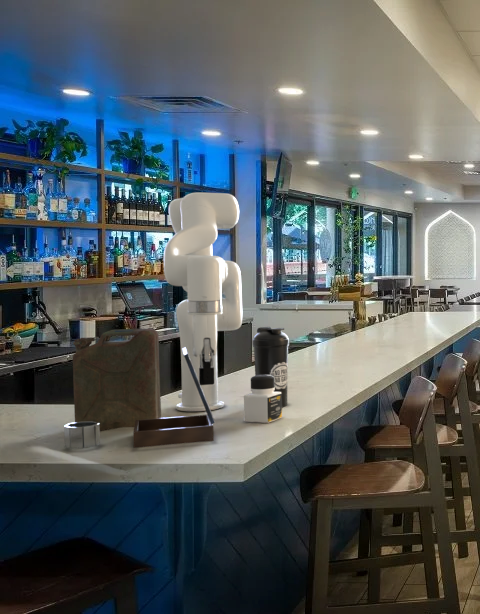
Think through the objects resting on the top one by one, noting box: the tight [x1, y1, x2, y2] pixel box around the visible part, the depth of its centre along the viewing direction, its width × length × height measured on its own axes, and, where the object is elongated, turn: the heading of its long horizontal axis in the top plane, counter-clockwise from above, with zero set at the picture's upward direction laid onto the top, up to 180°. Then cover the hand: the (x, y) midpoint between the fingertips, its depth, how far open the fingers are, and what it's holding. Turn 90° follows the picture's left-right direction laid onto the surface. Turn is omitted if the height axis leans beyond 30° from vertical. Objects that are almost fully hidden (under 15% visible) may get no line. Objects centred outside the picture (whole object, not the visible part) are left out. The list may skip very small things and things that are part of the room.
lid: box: [183, 347, 215, 425], centre depth 189 cm, size 17×15×1 cm
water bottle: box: [251, 326, 290, 408], centre depth 230 cm, size 10×10×23 cm
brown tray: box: [132, 414, 214, 449], centre depth 187 cm, size 17×15×4 cm
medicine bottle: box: [243, 375, 283, 424], centre depth 211 cm, size 7×7×12 cm
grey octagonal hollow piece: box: [63, 421, 101, 449], centre depth 179 cm, size 7×7×6 cm
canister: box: [72, 327, 162, 432], centre depth 200 cm, size 19×8×25 cm, turn 106°
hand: (206, 384), depth 189 cm, fingers closed
